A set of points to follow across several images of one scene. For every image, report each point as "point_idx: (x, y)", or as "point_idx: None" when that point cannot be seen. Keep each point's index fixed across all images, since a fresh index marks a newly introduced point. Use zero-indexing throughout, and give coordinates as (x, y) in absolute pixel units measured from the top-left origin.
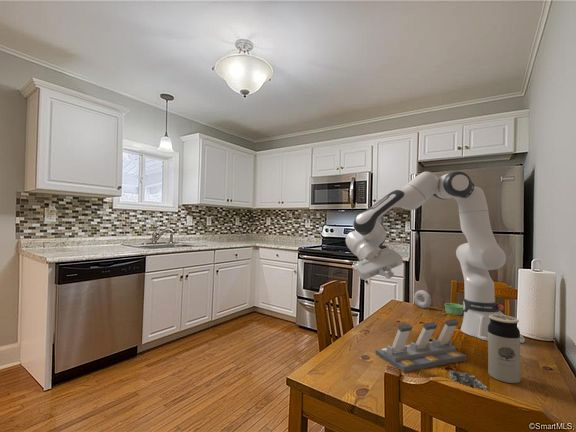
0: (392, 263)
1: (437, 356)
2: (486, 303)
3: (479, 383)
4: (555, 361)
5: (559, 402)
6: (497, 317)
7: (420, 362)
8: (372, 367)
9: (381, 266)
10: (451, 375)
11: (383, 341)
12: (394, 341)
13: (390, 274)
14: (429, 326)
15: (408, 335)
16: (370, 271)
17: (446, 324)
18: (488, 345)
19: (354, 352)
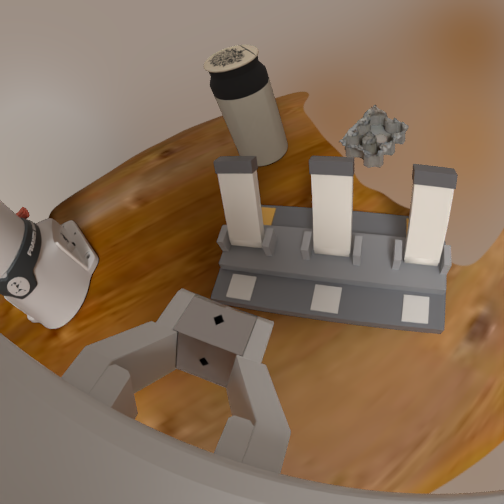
0: (5, 339)
1: (311, 225)
2: (25, 221)
3: (355, 128)
4: (129, 165)
5: (278, 103)
6: (239, 56)
7: (385, 219)
8: (492, 272)
9: (194, 464)
10: (386, 147)
11: (335, 404)
12: (445, 233)
13: (228, 309)
14: (345, 157)
15: (411, 199)
16: (451, 499)
17: (255, 170)
18: (265, 116)
19: (486, 368)
